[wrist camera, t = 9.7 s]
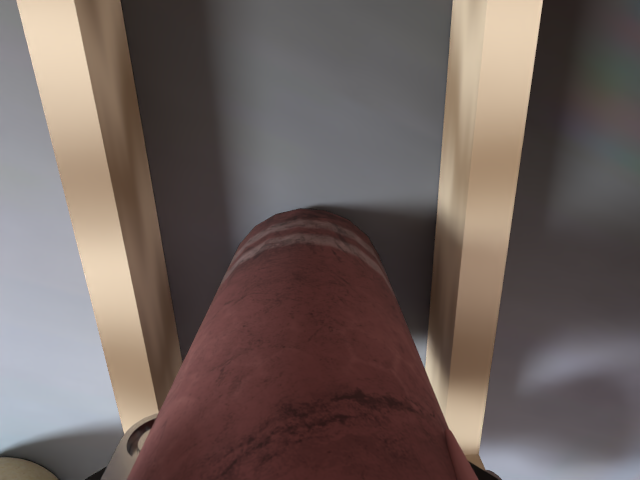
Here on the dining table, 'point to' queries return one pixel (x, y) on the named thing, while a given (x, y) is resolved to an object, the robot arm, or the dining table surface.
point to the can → (302, 371)
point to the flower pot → (23, 470)
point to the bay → (142, 222)
